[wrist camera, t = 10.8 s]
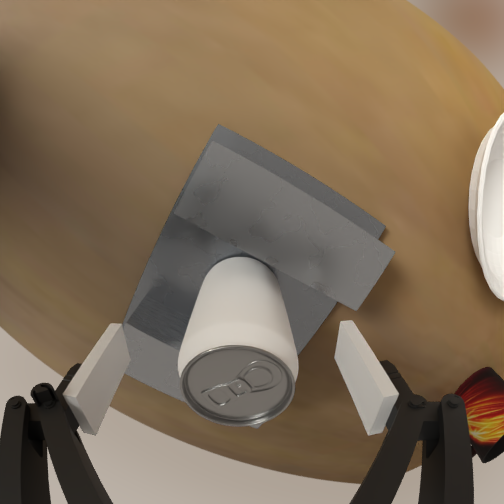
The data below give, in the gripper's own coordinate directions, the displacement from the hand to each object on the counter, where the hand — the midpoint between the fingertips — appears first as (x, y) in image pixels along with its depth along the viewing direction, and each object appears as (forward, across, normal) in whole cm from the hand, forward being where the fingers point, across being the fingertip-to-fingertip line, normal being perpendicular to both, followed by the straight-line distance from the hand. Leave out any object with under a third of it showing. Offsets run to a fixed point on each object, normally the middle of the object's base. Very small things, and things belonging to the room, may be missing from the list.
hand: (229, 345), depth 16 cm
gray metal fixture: (+9, +1, 0) cm, 9 cm away
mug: (+8, +35, -22) cm, 42 cm away
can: (+8, +1, 0) cm, 8 cm away
